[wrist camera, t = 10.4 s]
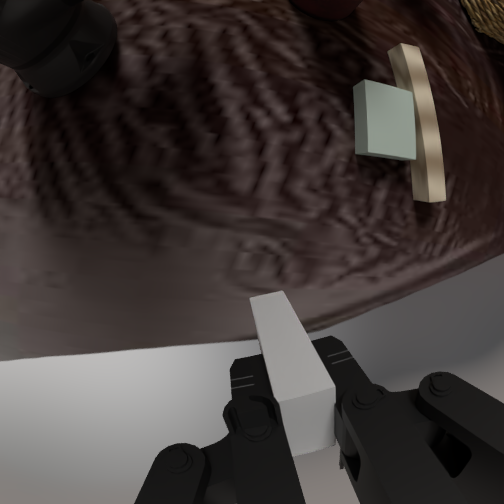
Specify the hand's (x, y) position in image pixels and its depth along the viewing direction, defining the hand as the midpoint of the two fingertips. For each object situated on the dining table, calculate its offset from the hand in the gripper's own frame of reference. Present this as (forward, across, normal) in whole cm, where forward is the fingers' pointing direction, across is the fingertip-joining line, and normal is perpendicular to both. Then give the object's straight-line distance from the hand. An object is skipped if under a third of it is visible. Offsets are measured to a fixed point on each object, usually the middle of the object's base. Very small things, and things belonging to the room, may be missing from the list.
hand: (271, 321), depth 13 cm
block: (+25, +22, +12) cm, 35 cm away
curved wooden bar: (+24, +29, +12) cm, 40 cm away
